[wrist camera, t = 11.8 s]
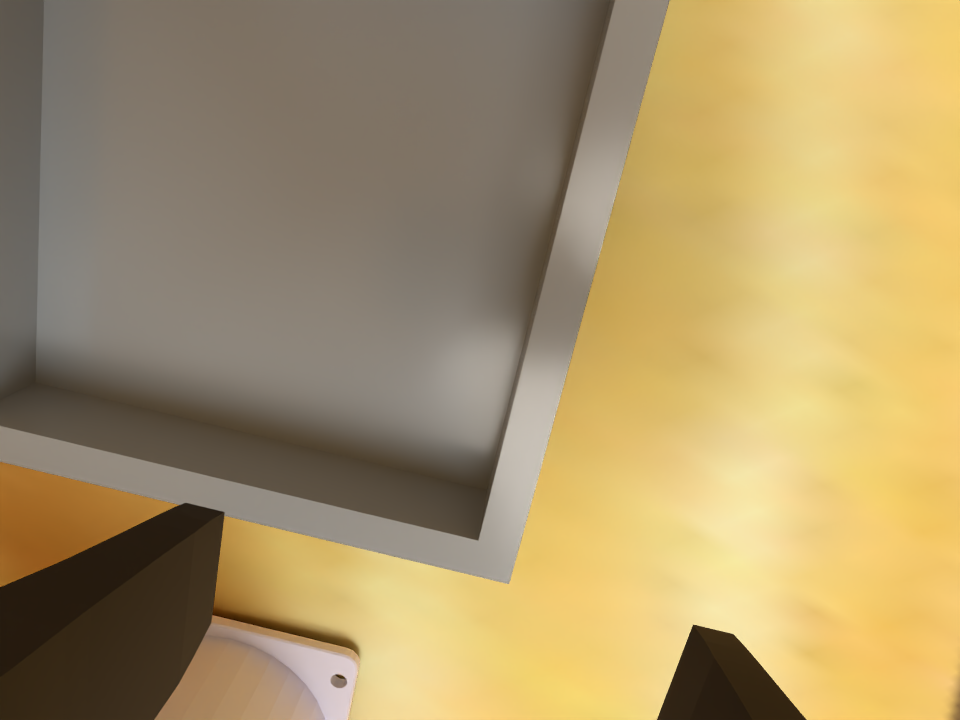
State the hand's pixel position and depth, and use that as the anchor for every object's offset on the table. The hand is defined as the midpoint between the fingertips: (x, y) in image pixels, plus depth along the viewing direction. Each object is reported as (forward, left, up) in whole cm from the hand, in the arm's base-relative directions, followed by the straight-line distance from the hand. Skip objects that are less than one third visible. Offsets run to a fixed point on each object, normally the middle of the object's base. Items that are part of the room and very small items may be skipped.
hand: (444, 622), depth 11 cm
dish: (+4, +6, -9) cm, 12 cm away
